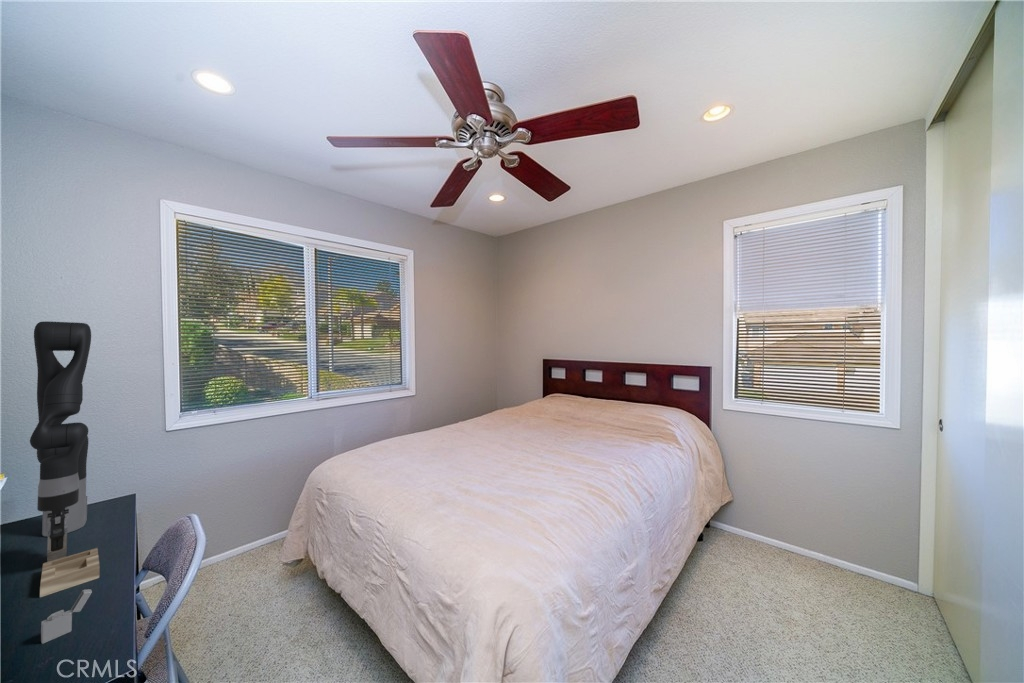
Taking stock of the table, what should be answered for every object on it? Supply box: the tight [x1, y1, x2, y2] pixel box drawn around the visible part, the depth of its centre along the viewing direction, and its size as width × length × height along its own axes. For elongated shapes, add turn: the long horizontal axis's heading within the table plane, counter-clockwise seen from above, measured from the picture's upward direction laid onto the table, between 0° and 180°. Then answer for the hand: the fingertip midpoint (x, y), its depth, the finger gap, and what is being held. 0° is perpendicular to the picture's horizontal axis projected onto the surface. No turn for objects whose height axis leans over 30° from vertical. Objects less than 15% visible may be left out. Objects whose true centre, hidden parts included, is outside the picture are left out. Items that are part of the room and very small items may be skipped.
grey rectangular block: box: [46, 528, 68, 562], centre depth 104 cm, size 4×4×9 cm
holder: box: [39, 547, 100, 598], centre depth 99 cm, size 14×10×3 cm
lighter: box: [40, 588, 93, 645], centre depth 81 cm, size 7×2×8 cm, turn 149°
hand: (57, 544), depth 104 cm, fingers open, 8 cm apart
